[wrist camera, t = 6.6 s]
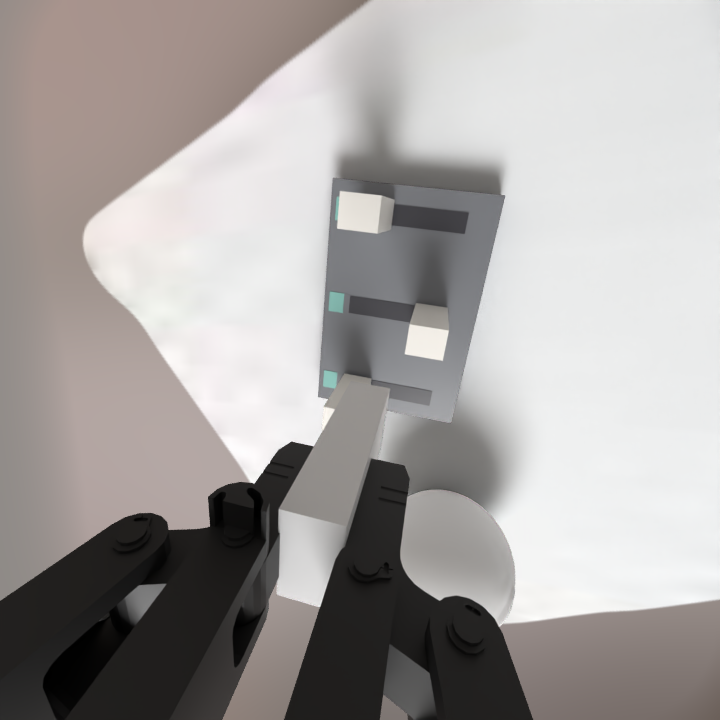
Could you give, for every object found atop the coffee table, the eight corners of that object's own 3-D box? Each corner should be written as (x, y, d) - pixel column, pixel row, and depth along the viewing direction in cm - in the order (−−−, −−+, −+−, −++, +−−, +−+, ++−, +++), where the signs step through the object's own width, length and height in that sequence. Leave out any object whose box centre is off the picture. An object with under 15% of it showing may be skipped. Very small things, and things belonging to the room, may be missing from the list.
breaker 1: (394, 199, 25) (381, 195, 20) (390, 229, 26) (377, 233, 21) (361, 196, 26) (339, 190, 20) (358, 225, 27) (337, 228, 21)
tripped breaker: (447, 307, 27) (449, 330, 22) (442, 332, 28) (442, 360, 23) (416, 302, 28) (409, 324, 22) (411, 327, 29) (404, 354, 23)
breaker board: (500, 196, 26) (505, 195, 24) (450, 412, 33) (451, 423, 31) (339, 180, 28) (332, 177, 26) (324, 387, 35) (317, 397, 33)
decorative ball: (441, 571, 40) (441, 701, 30) (361, 503, 39) (330, 614, 28) (530, 519, 36) (568, 653, 25) (441, 441, 34) (440, 545, 24)
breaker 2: (371, 378, 31) (356, 413, 25) (368, 398, 32) (353, 437, 26) (344, 373, 31) (323, 406, 26) (342, 393, 32) (321, 430, 27)
